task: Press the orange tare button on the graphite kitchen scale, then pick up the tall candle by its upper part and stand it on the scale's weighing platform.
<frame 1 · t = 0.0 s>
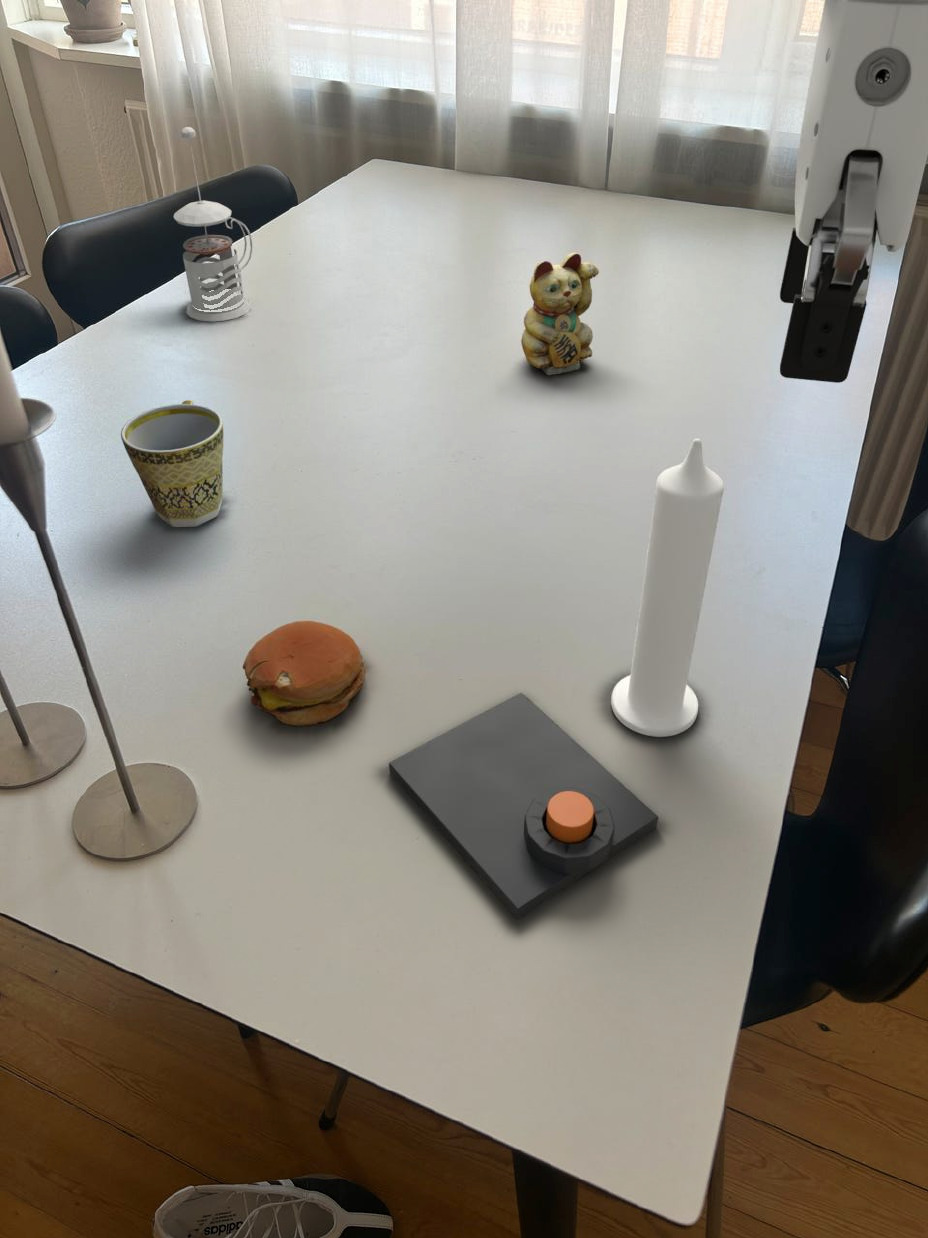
hand: (809, 337, 52), 35 cm above the table, tool pointing down, fingers open, 9 cm apart
candle: (653, 708, 80), on the table
ceramic cup: (194, 504, 105), on the table
burger: (308, 690, 82), on the table
tare button: (569, 816, 67), point 3 cm above the table, slide at 0.1 cm
french press: (224, 307, 146), on the table
scale: (519, 799, 73), on the table
decorative figurine: (552, 364, 130), on the table
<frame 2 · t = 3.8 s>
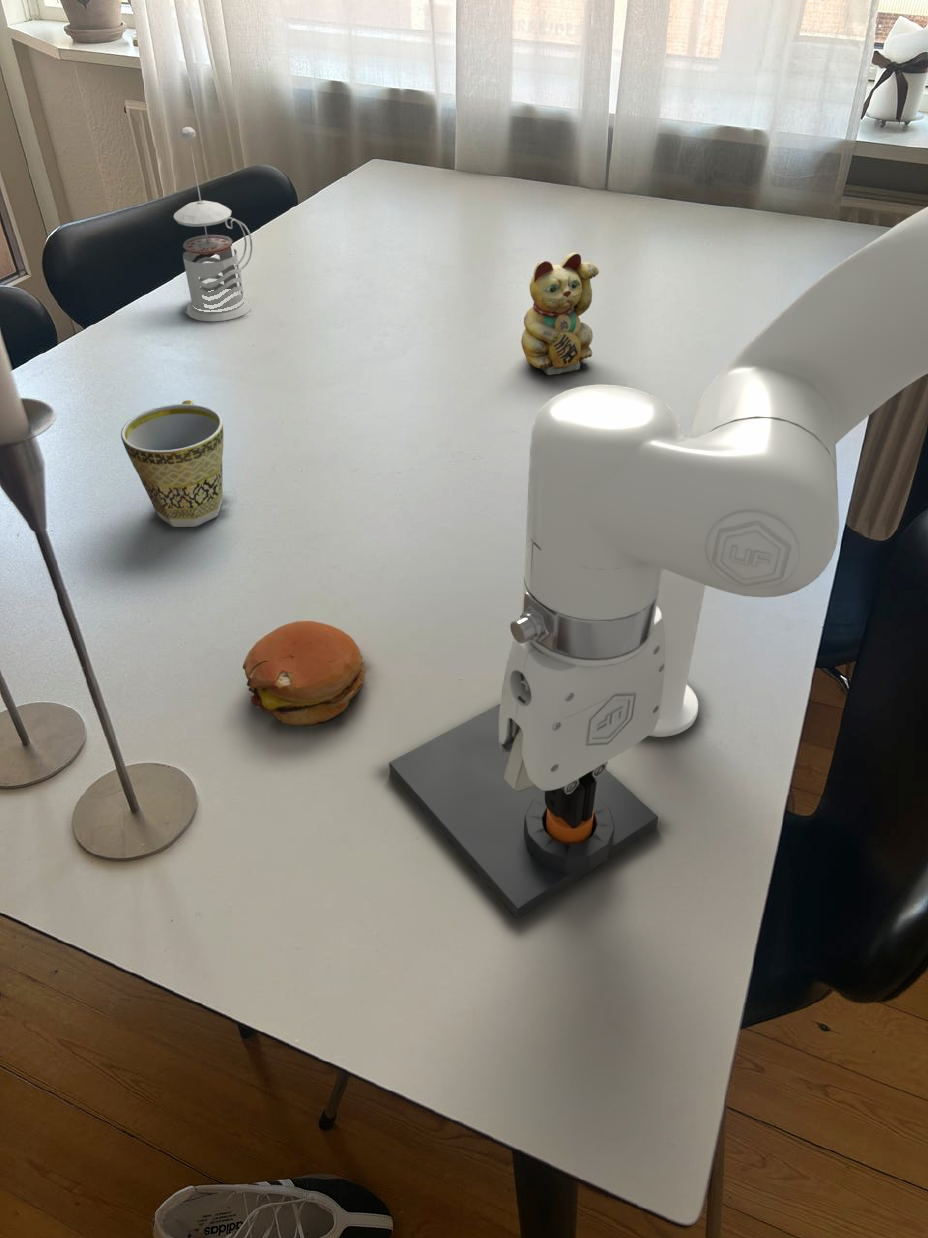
hand: (567, 810, 67), 4 cm above the table, tool pointing down, fingers closed
tare button: (569, 819, 67), point 3 cm above the table, slide at -0.1 cm, touching gripper
everything else where it was.
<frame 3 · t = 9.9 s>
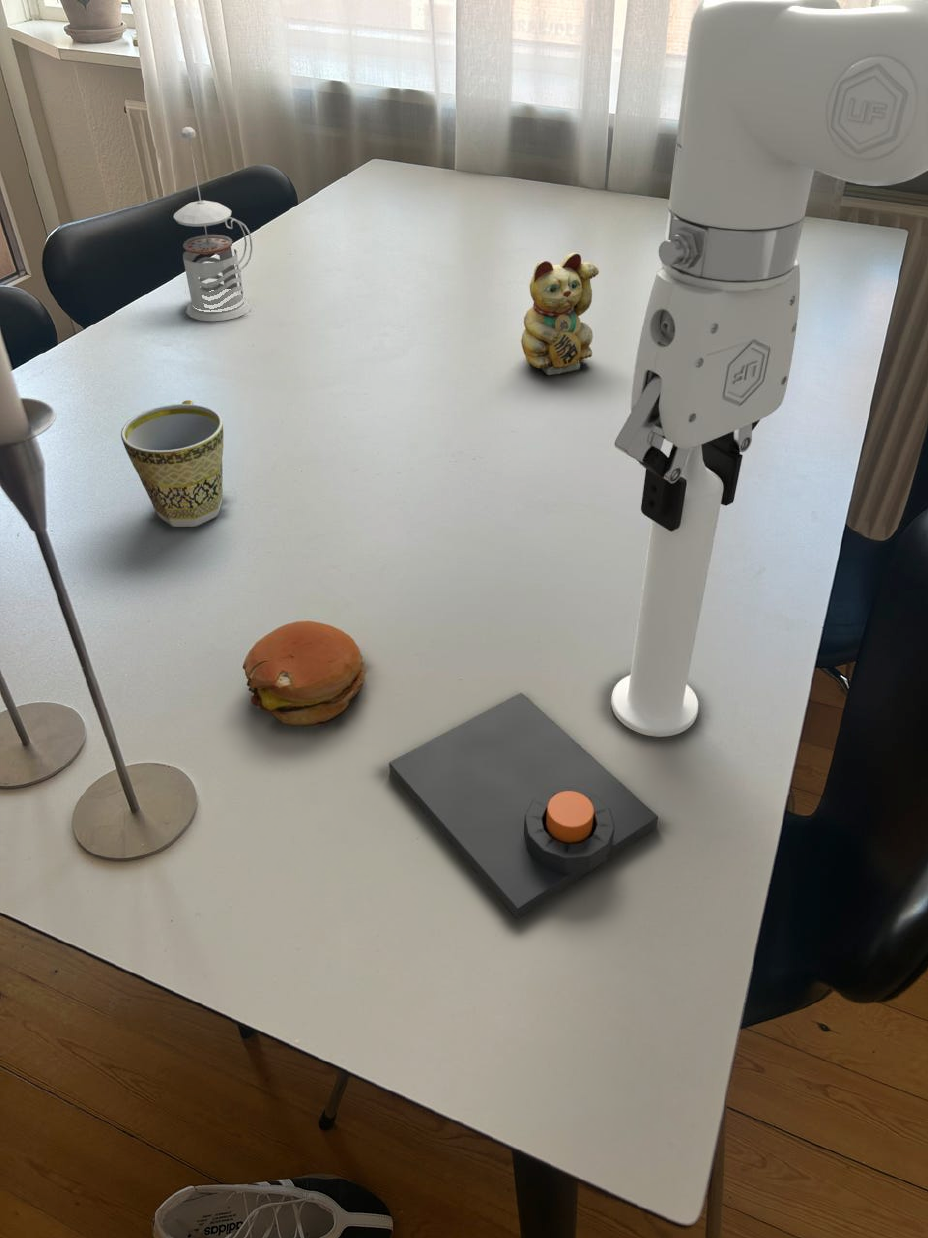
hand: (687, 506, 67), 20 cm above the table, tool pointing down, fingers closed on candle, 4 cm apart
candle: (653, 708, 80), on the table, touching gripper
tare button: (569, 816, 67), point 3 cm above the table, slide at 0.1 cm
everything else where it was.
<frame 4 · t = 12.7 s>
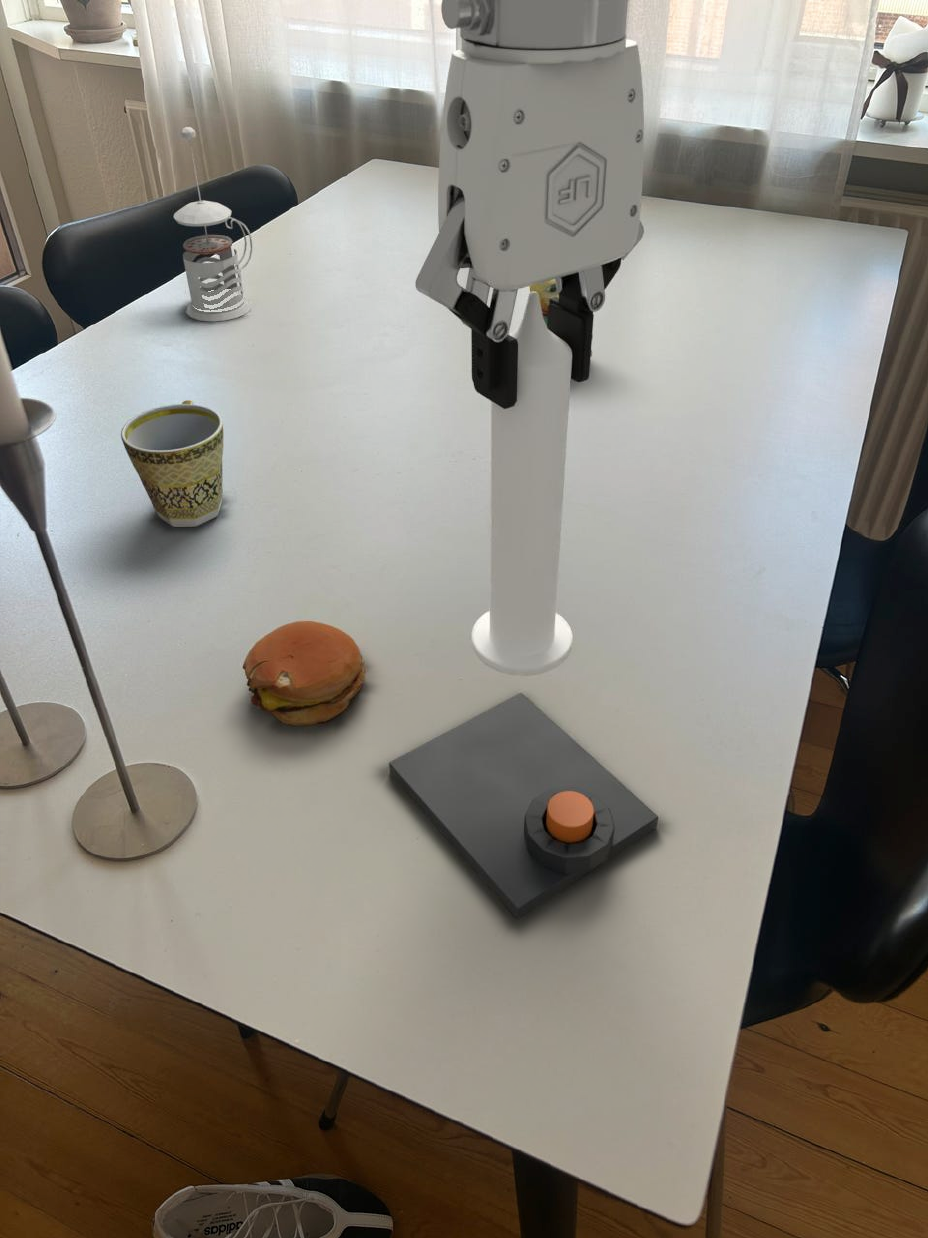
hand: (531, 382, 55), 32 cm above the table, tool pointing down, fingers closed on candle, 4 cm apart
candle: (521, 644, 68), point 12 cm above the table, touching gripper
everything else where it was.
when the fingers open (21 cm above the table, at t = 15.9 s): candle stays where it is, resting on scale.
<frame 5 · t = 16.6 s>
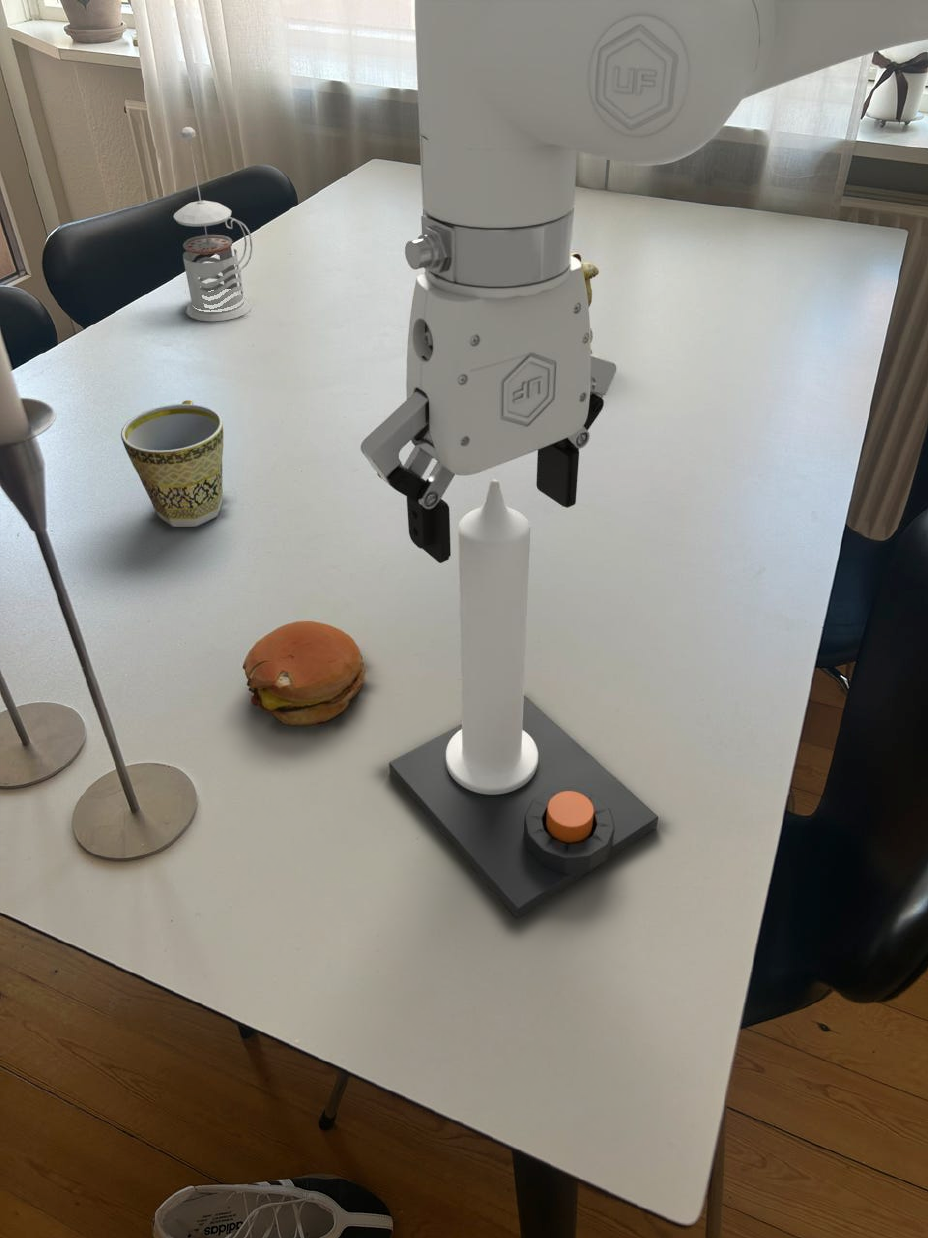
hand: (495, 523, 60), 23 cm above the table, tool pointing down, fingers open, 9 cm apart
candle: (491, 761, 74), point 1 cm above the table, touching scale
everything else where it was.
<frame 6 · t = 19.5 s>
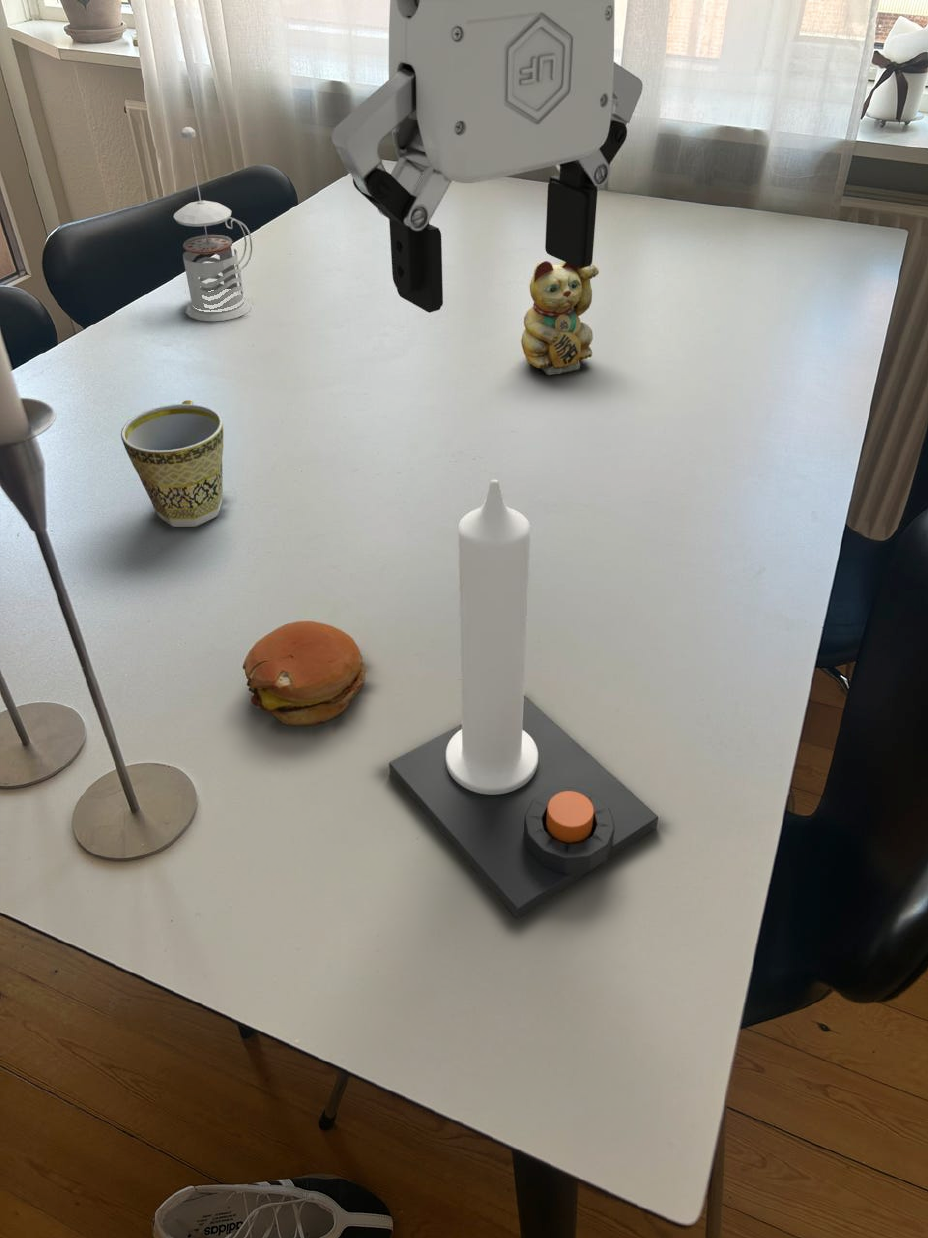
hand: (496, 280, 50), 38 cm above the table, tool pointing down, fingers open, 9 cm apart
nothing on the table moved.
at the end: tare button pushed in 1.1 cm at the most during the clip, back to where it started at the end; candle inside the target area on the scale (0.8 cm from its centre), point 1.0 cm above the scale's base; candle touching scale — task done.
